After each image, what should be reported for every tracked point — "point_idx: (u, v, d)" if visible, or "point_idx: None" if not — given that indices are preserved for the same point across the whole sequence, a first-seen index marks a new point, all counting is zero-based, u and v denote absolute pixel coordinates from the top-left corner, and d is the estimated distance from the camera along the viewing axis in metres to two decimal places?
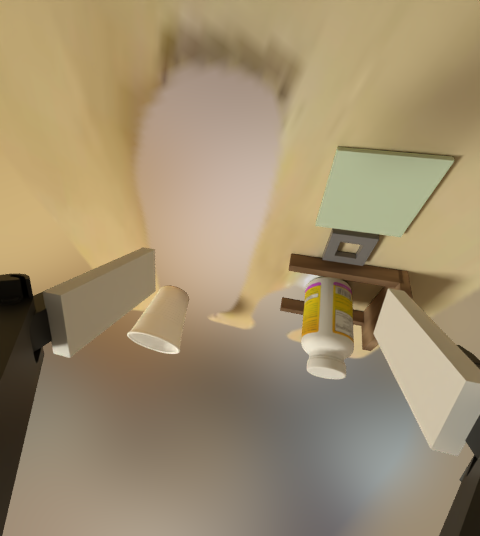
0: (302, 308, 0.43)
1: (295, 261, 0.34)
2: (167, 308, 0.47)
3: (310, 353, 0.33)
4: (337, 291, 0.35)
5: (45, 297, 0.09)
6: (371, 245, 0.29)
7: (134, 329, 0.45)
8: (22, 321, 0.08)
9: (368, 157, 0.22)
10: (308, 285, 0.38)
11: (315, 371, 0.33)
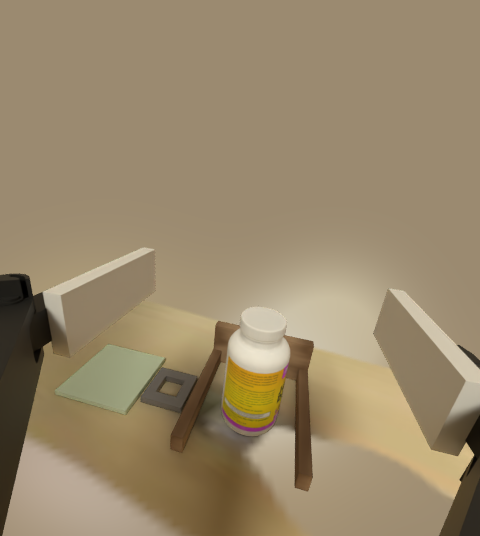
0: (297, 439, 0.26)
1: None
2: None
3: (254, 346, 0.25)
4: None
5: (45, 297, 0.09)
6: (168, 371, 0.34)
7: None
8: (22, 321, 0.08)
9: (75, 374, 0.32)
10: (234, 427, 0.27)
11: (263, 324, 0.25)
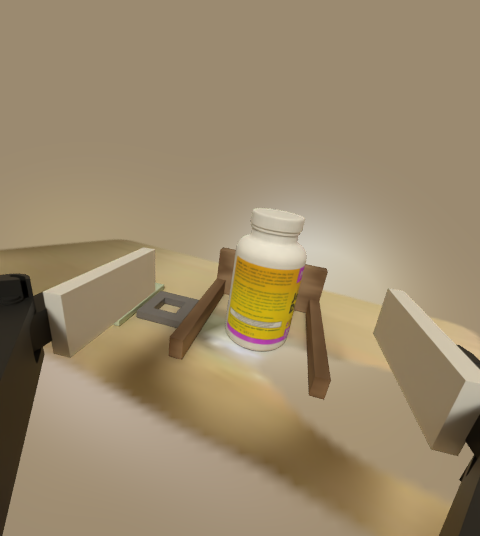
0: (311, 352, 0.23)
1: None
2: None
3: (268, 239, 0.22)
4: None
5: (45, 297, 0.09)
6: (167, 294, 0.31)
7: None
8: (22, 321, 0.08)
9: None
10: (240, 340, 0.24)
11: (278, 215, 0.22)
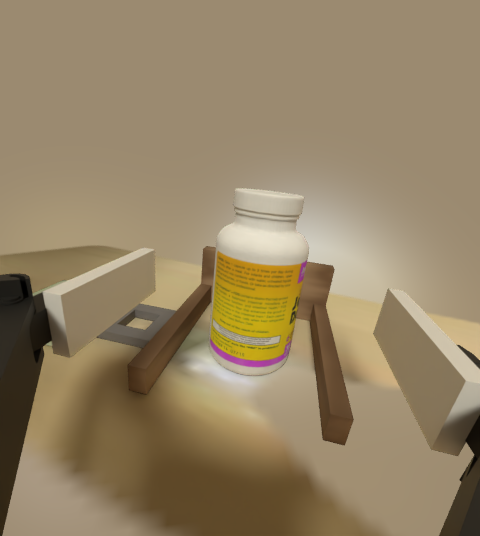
0: (321, 375, 0.18)
1: None
2: None
3: (256, 226, 0.16)
4: None
5: (45, 297, 0.09)
6: (139, 305, 0.25)
7: None
8: (22, 321, 0.08)
9: None
10: (227, 362, 0.19)
11: (269, 193, 0.16)
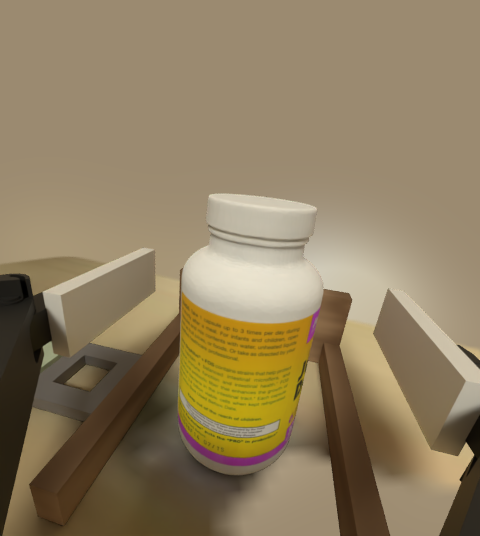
0: (343, 483, 0.11)
1: None
2: None
3: (240, 256, 0.10)
4: None
5: (45, 297, 0.09)
6: (92, 347, 0.19)
7: None
8: (22, 321, 0.08)
9: None
10: (199, 455, 0.12)
11: (260, 203, 0.10)
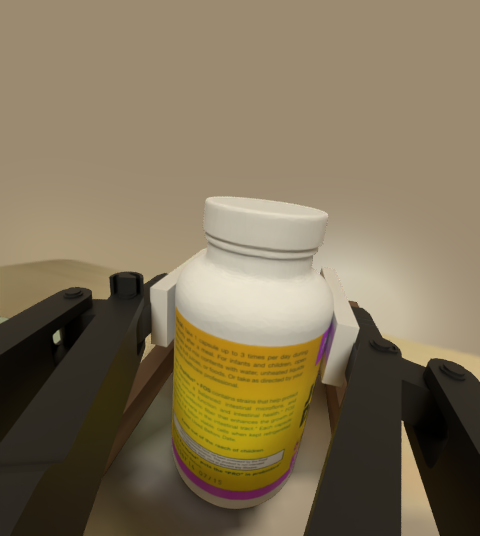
0: None
1: None
2: None
3: (241, 269, 0.09)
4: None
5: (151, 292, 0.10)
6: None
7: None
8: (132, 317, 0.09)
9: None
10: (195, 486, 0.11)
11: (264, 208, 0.09)
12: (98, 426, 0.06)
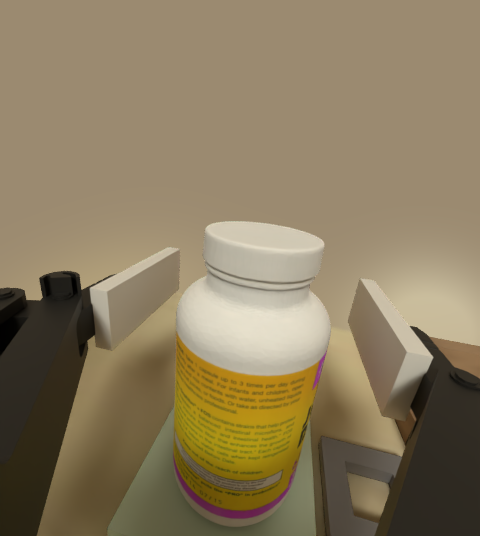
0: None
1: None
2: None
3: (239, 299, 0.09)
4: None
5: (91, 293, 0.10)
6: (341, 447, 0.15)
7: None
8: (70, 317, 0.08)
9: (147, 467, 0.14)
10: (195, 504, 0.11)
11: (262, 240, 0.09)
12: (42, 428, 0.06)
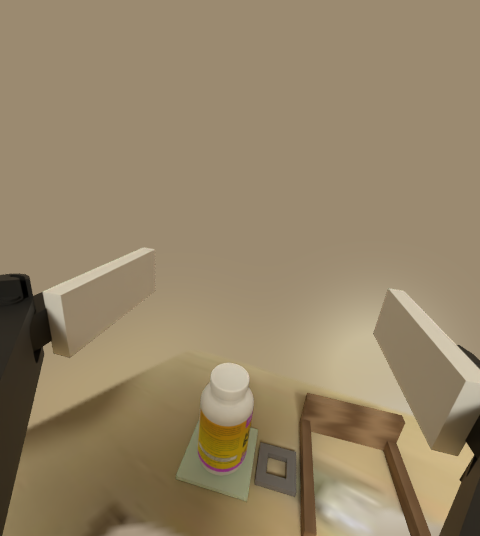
0: (414, 528, 0.28)
1: (303, 526, 0.28)
2: None
3: (221, 402, 0.29)
4: None
5: (45, 297, 0.09)
6: (268, 447, 0.36)
7: None
8: (22, 321, 0.08)
9: (187, 455, 0.34)
10: (206, 467, 0.32)
11: (228, 384, 0.29)
12: None
